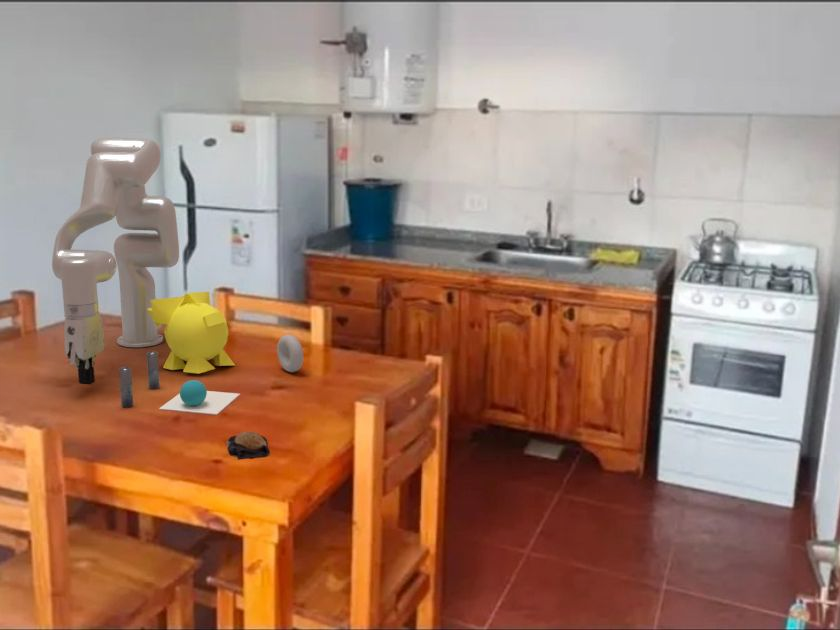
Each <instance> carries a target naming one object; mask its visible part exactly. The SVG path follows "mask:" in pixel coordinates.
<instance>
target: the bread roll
mask: <svg viewBox="0 0 840 630" xmlns="http://www.w3.org/2000/svg"><path fill="white" fill-rule="evenodd" d="M268 445H269V444H268V439H267V438H266V437H265V436H263V435H261V434H259V433H258V432H256V431H245V432H244V431H243V432H240V433H238V434H236V435H233V436H230V437H229V439H227V440H226V446H227V450H228V452H229V454H230V455H231V456H232V457H233V458H237V460H246V459H249V460H250V459H259V458H260V459H261V458H265V457H268V456H271V451H270V448H269V447H268Z"/></svg>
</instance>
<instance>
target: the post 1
mask: <svg viewBox="0 0 840 630" xmlns="http://www.w3.org/2000/svg"><path fill="white" fill-rule="evenodd" d="M118 370H119V386H120V402H121V403H120V405H121V406H120V407H122V408H125V409H127V408H132V407H133V406H134V393H133V392H134V391H133V373H132V366H122V367H119V369H118Z"/></svg>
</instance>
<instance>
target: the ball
mask: <svg viewBox="0 0 840 630" xmlns="http://www.w3.org/2000/svg"><path fill="white" fill-rule="evenodd" d="M207 391H208V390H207V388H206V386H205V384H204V383H202V382H201V381H199V380H196V379H192V380H187V381H186V382H184V383H183V384H182V386H181V387H180V391H179V393H180V397H181V400H182V401H183V402H184V403H185V404H187V405H189V406H197V405H199V404H201V403H202V402H203V401H204V400H205V398H206V395H207Z"/></svg>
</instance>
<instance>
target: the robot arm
mask: <svg viewBox="0 0 840 630" xmlns="http://www.w3.org/2000/svg"><path fill="white" fill-rule="evenodd" d="M90 153H91V156H89V158H88V160H87V162H86V166H85V173H84V181H83V187H82V192H81V193H82V194H81V199H80V200H81V201H80V205H79V208H78V209H77V211H75V212H74V213H73V214H72V215H71V216H70V217H68V219H66V221H65V222H64V223H63V224H62V226H61V227H60V228H59V230H58V232H57V234H56V237H55V240H54V246H53V252H52V258H51V259H52V260H51V261H52V262H51V267H52V272H53V274H54V276H55V277H56V278H57V279H59V280H60V281H61V287H62V288H61V289H62V290H61V292H62V300H63V301H62V302H63V313H64V317H65V318H64V349H65V350H64V351H65V356H66V357H67V359H69V361H70V362H69V365H70V366H75V367H76V369H77V375H78V384H81V385H92V384H93V383H95V380H96V379H95V365H96V357H97V355H98V354H100V353H101V352H103V351H104V349H105V347H106V346H105V345H106V344H105V343H106V342H105V335H104V334H105V333H104V327H103V326H104V325H103V322H102V317H101V313H100V310H99V301H98V300H99V298H98V286H97V284H100V283H104V282H107V281H109V280H111V279H112V278H113V276H115V273H116V271H118V278H119V281H118V282H119V294H120V311H121V313H120V314H121V327H122V328H121V330H122V335H120V336H119V337H118V338H117V340H116V342H117V344H118V345H119V346H121V347H126V348H147V347H152V346H157V345H159V344H161V343H162V342H163V341H164V336H163V335H162V334H160V333H158V330H159V329H160V328H162V326H163V325H161V326H159V327H157V326H156V324H155V323H154V321H153V319H152V318H151V316H150V314H149V312H148V311H147V309H149V308H152V305H151V300H154V299H157V298H156V296H157V295H156V283H155V279H154V276H153V275H152V274H151V272H150V270H149V269H148V268H173V267H174V266H176V265H177V263H178V262H179V258H180V244H179V243H180V241H179V232H178V231H179V230H178V223H177V214H176V213H177V212H176V207H175V205H174V202H173V201H172V200H171V199H170V198H169V197H166V196H163V195H162V196H161V195H147V193H146V186H145V185H146V184H147V182H149V180H150V179H151V178H152V177H153V175H154V174H155V172H156V171H157V170H158V168H159V166H160V162H161V149H160V147H159V145H158V143H157V142H156V141H154V140H152V139H148V138H131V137H130V138H128V137H127V138H126V137H101V138H97V139H95V140H93V141H92V143H91V145H90ZM114 218H115V220H116V223H117V225H118V227H120V228H121V229H123V230H128V231H129V230H130V231H151V232H152V231H155V232H157V233H149V232H126V233H123V234H120V235H119V236H117V238H115V241H114V243H113V253H114V255H113V254H112V253H111V252H109V251H106V250H98V249H97V250H95V249H94V250H93V249H92V250H91V249H72V248H73V247H72V246H73V244H74V242H75V241H76V240H77V239H78V238H79V236H81V234H83V233H85V232H87V231H89V230H90V229H93V228H95V227H98V226H100V225H103V224H105V223H107V222H110V221H111V220H113V219H114Z"/></svg>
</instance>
